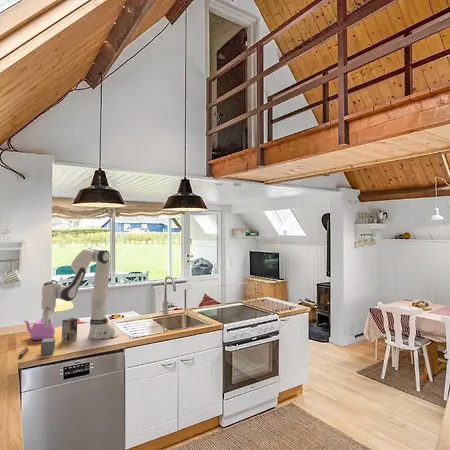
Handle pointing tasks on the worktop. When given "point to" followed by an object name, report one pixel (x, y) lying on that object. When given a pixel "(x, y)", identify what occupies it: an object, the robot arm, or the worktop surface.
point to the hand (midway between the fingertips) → (47, 325)
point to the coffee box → (69, 330)
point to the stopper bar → (23, 352)
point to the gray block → (47, 346)
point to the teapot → (40, 330)
